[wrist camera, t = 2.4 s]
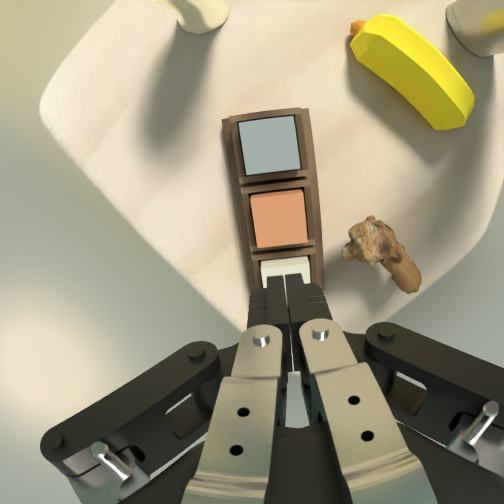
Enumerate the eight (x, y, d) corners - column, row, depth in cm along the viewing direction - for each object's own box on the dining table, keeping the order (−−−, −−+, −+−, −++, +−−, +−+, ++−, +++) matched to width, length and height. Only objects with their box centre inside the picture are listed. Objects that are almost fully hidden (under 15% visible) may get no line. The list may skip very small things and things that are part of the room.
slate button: (290, 118, 24) (293, 115, 22) (297, 166, 26) (300, 168, 23) (241, 124, 25) (238, 122, 22) (248, 171, 27) (246, 175, 24)
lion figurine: (323, 232, 32) (340, 265, 24) (348, 195, 30) (376, 216, 22) (403, 288, 34) (431, 326, 26) (426, 257, 32) (460, 290, 24)
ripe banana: (361, 11, 21) (331, 48, 24) (379, -12, 15) (345, 28, 17) (465, 106, 24) (443, 145, 26) (497, 104, 17) (474, 149, 20)
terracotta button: (299, 187, 27) (303, 192, 24) (304, 233, 29) (307, 242, 26) (252, 193, 27) (250, 198, 25) (258, 238, 29) (257, 248, 27)
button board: (306, 109, 27) (312, 104, 22) (322, 283, 34) (328, 302, 30) (224, 120, 28) (216, 116, 23) (252, 291, 35) (249, 311, 31)
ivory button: (306, 252, 29) (309, 263, 27) (308, 291, 31) (311, 304, 29) (261, 257, 30) (260, 268, 27) (267, 295, 32) (266, 309, 29)
